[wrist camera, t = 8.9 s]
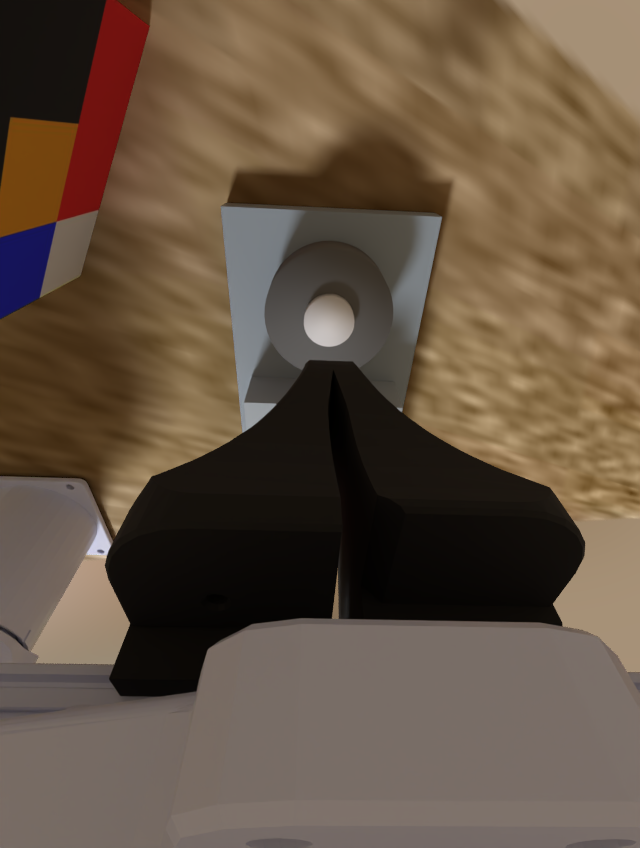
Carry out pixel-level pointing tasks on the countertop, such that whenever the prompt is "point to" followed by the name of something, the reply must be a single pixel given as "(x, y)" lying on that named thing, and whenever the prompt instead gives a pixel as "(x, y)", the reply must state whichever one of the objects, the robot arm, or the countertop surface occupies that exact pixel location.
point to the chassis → (287, 232)
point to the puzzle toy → (58, 133)
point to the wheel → (328, 305)
